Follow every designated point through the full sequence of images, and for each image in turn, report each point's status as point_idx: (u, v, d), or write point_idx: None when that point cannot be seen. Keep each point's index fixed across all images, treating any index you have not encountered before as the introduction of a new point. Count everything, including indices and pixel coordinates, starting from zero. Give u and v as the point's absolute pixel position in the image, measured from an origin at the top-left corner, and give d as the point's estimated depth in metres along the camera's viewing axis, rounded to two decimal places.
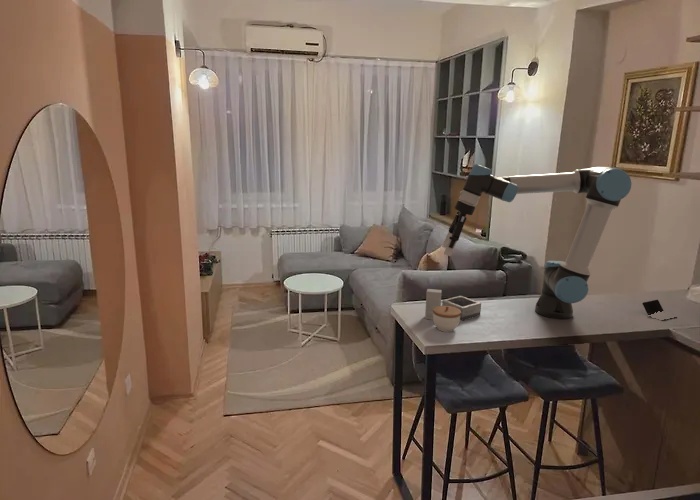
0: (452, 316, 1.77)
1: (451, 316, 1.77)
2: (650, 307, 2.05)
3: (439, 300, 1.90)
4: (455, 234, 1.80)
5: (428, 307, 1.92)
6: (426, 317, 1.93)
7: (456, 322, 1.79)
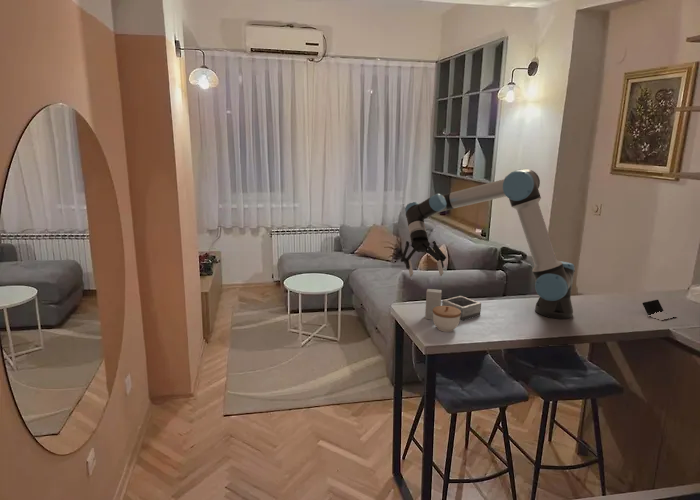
0: (452, 316, 1.77)
1: (451, 316, 1.77)
2: (650, 307, 2.05)
3: (439, 300, 1.90)
4: None
5: (428, 307, 1.92)
6: (426, 317, 1.93)
7: (456, 322, 1.79)
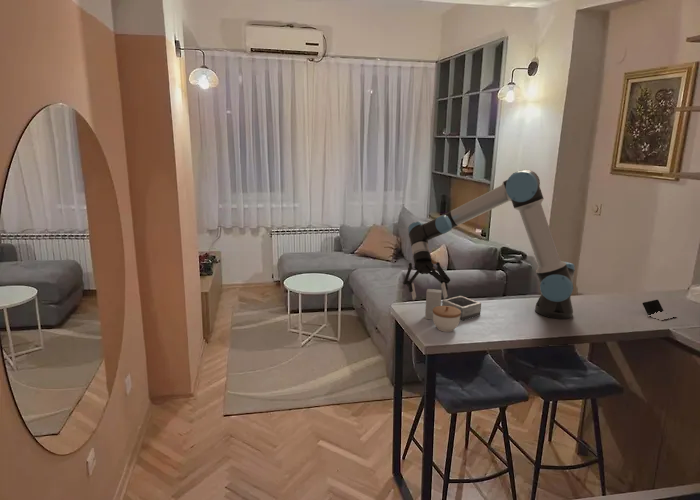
0: (452, 316, 1.77)
1: (451, 316, 1.77)
2: (650, 307, 2.05)
3: (439, 300, 1.90)
4: (404, 279, 1.98)
5: (428, 307, 1.92)
6: (426, 317, 1.93)
7: (456, 322, 1.79)
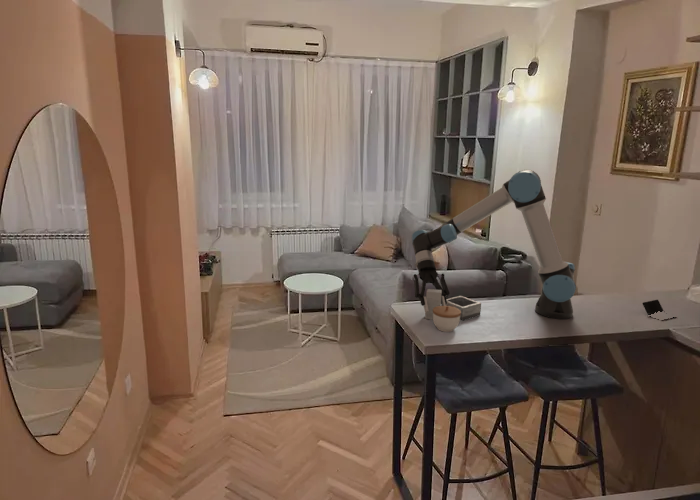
0: (452, 316, 1.77)
1: (451, 316, 1.77)
2: (650, 307, 2.05)
3: (439, 300, 1.90)
4: (415, 292, 1.94)
5: (428, 307, 1.92)
6: (426, 317, 1.93)
7: (456, 322, 1.79)
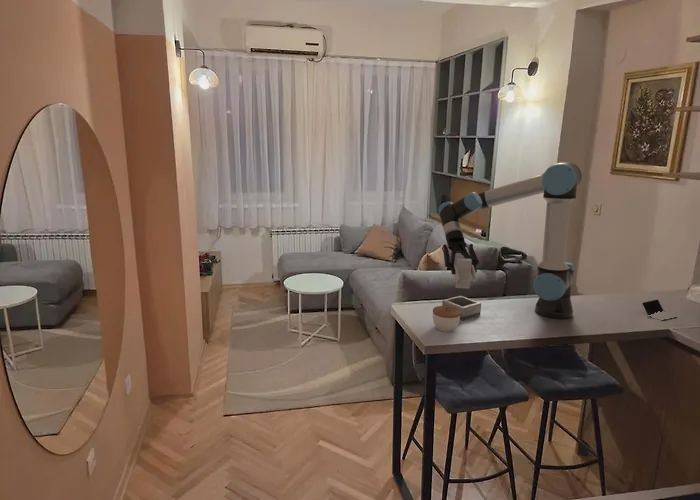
0: (452, 316, 1.77)
1: (451, 316, 1.77)
2: (650, 307, 2.05)
3: (469, 268, 1.92)
4: (445, 262, 1.96)
5: (459, 276, 1.94)
6: (456, 286, 1.95)
7: (456, 322, 1.79)
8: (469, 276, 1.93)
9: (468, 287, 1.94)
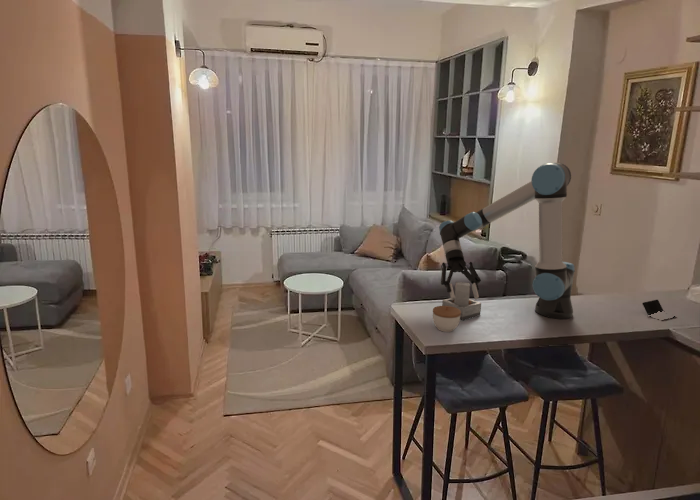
0: (452, 316, 1.77)
1: (451, 316, 1.77)
2: (650, 307, 2.05)
3: (468, 293, 1.95)
4: (441, 280, 1.99)
5: (457, 299, 1.97)
6: None
7: (456, 322, 1.79)
8: (467, 300, 1.96)
9: None
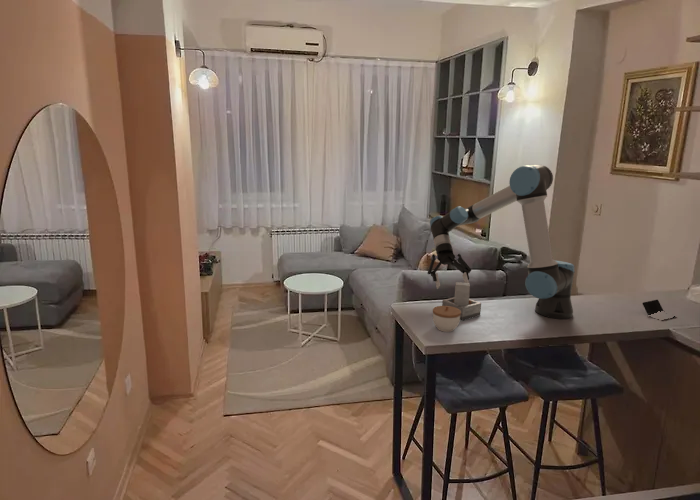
0: (452, 316, 1.77)
1: (451, 316, 1.77)
2: (650, 307, 2.05)
3: (468, 293, 1.95)
4: (428, 269, 2.11)
5: (457, 300, 1.97)
6: None
7: (456, 322, 1.79)
8: (467, 300, 1.96)
9: None
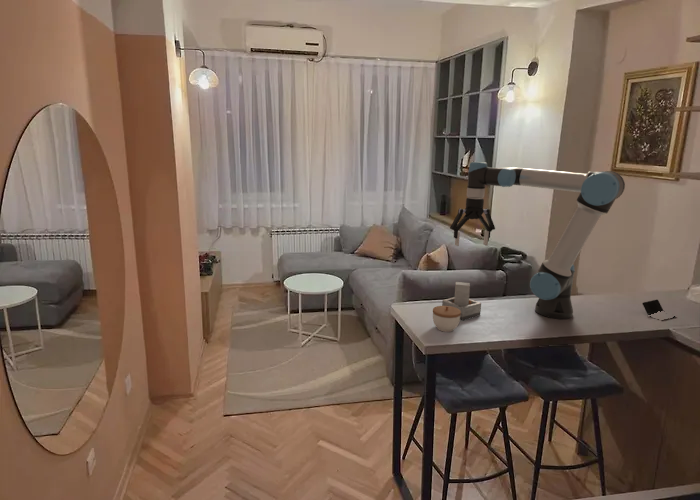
0: (452, 316, 1.77)
1: (451, 316, 1.77)
2: (650, 307, 2.05)
3: (468, 293, 1.95)
4: (452, 224, 2.06)
5: (457, 300, 1.97)
6: None
7: (456, 322, 1.79)
8: (467, 300, 1.96)
9: None
